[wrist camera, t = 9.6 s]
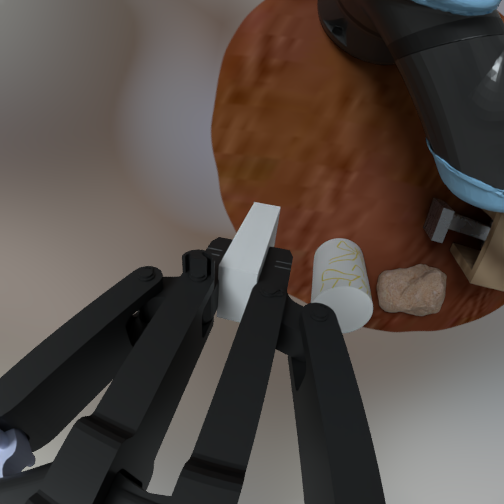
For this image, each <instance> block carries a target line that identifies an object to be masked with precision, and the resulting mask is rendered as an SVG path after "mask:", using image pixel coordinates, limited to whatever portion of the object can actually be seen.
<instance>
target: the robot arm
mask: <svg viewBox="0 0 504 504" xmlns="http://www.w3.org/2000/svg"><path fill="white" fill-rule="evenodd" d="M500 2H501V0H318V15H319V19H320V22H321V24H322V26H323V28H324V30H325V32H326V33H327V34H328V36H329V37H330V38H331V39H332V41H333V42H334V43H335V44H337V45H338V46H339V47H340V48H341V49H343V50H344V51H345V52H347V53H348V54H350V55H352V56H354V57H356V58H358V59H360V60H363V61H366V62H369V63H373V64H379V65H393V64H396V65H397V67H398V69H399V71H400V73H401V75H402V78H403V80H404V82H405V84H406V86H407V88H408V91H409V93H410V95H411V98H412V100H413V102H414V105H415V107H416V110H417V112H418V115H419V118H420V120H421V123H422V126H423V128H424V131H425V134H426V142H427V146H428V148H429V150H430V152H431V153H432V155H433V156H434V159H435V162H436V165H437V168H438V171H439V174H440V177H441V179H442V181H443V182H444V184H446V185H447V187H448V188H449V190H450V191H451V192H452V193H453V194H454V195H456V196H457V197H458V198H460V199H461V200H463V201H465V202H467V203H469V204H471V205H473V206H476V207H479V208H482V209H485V210H489V211H494V212H501V213H504V23H503V21H502V19H501V17H500V15H499V13H498V11H497V10H496V9H497V7H498V6H499V3H500ZM279 213H280V207H278V206H273V205H267V204H262V203H256V202H254V204H253V206H252V208H251V209H250V211H249V213H248V214H247V216H246V218H245V220H244V222H243V223H242V225H241V227H240V229H239V230H238V232H237V234H236V236H235V237H234V239H233V240H231V239H226V238H221V237H218V238H217V239H215V240H213V241H212V242H211V243H210V245H209V246H208V248H207V249H206V251H204V250H191V251H188V252H186V253H185V254H183V255H182V265H183V273H182V275H181V276H179V277H163V275H162V273H161V270H159V269H158V268H156V267H152V266H145V267H141V268H138V269H137V270H135V271H133V272H132V273H130V274H129V275H128V276H126V277H125V278H124V279H122V280H121V281H120V282H118V283H117V284H116V285H114V286H113V287H111V288H110V289H109V290H107V291H106V292H105V293H103V294H102V295H101V296H99V297H98V298H97V299H96V300H94V301H93V302H92V303H90V304H89V305H88V306H86V307H85V308H84V309H83V310H81V311H80V312H79V313H78V314H76V315H75V316H74V317H73V318H71V319H70V320H69V321H68V322H66V323H65V324H64V325H62V326H61V327H60V328H59V329H57V330H56V331H55V332H54V333H52V334H51V335H50V336H49V337H47V339H45V340H44V341H43V342H41V343H40V344H39V345H38V346H37V347H35V348H34V349H33V350H32V351H31V352H30V353H28V354H27V355H26V356H25V357H24V358H23V359H21V360H20V361H19V362H18V363H17V364H16V365H15V366H13V367H12V368H11V369H10V370H9V371H8V372H7V373H6V374H4V375H3V376H2V377H1V378H0V504H237V503H238V499H239V496H240V493H241V489H242V485H243V482H244V477H245V472H246V468H247V465H248V461H249V457H250V453H251V450H252V446H253V442H254V438H255V434H256V430H257V426H258V422H259V418H260V414H261V410H262V406H263V402H264V398H265V393H266V389H267V385H268V380H269V376H270V372H271V367H272V362H273V358H274V353H275V349H277V350H279V351H281V352H283V353H285V354H287V355H288V362H289V371H290V378H291V386H292V393H293V402H294V410H295V419H296V427H297V435H298V444H299V454H300V462H301V472H302V482H303V492H304V502H305V504H386V503H385V498H384V493H383V488H382V483H381V478H380V473H379V468H378V464H377V460H376V455H375V451H374V446H373V442H372V438H371V434H370V430H369V426H368V422H367V418H366V414H365V410H364V407H363V403H362V399H361V396H360V392H359V388H358V385H357V381H356V378H355V374H354V371H353V368H352V364H351V361H350V357H349V354H348V351H347V347H346V344H345V341H344V338H343V335H342V332H341V328H340V325H339V322H338V319H337V316H336V314H335V312H334V311H333V310H332V309H331V308H330V307H329V306H327V305H325V304H322V303H316V302H315V303H309V304H307V305H305V306H304V307H303V306H301V305H299V304H297V303H295V302H294V301H293V300H292V299H291V298H290V297H289V296H288V293H287V287H288V281H289V276H290V270H291V265H292V259H293V256H292V254H291V252H290V250H285V249H280V248H275V247H274V244H275V238H276V232H277V226H278V219H279ZM216 310H217V317H220V318H224V319H228V320H232V321H237V322H240V325H239V327H238V330H237V333H236V336H235V339H234V341H233V344H232V347H231V350H230V353H229V355H228V358H227V361H226V363H225V366H224V369H223V372H222V375H221V378H220V380H219V383H218V386H217V388H216V391H215V394H214V396H213V399H212V402H211V405H210V407H209V410H208V413H207V415H206V418H205V421H204V423H203V426H202V429H201V432H200V434H199V437H198V440H197V442H196V445H195V448H194V450H193V453H192V455H191V457H190V459H189V460H188V461H187V462H186V463H185V465H184V467H183V469H182V471H181V473H180V476H179V478H178V481H177V484H176V486H175V488H174V491H173V493H172V496H165V495H158V494H152V493H148V492H147V491H146V489H147V487H148V485H149V482H150V480H151V477H152V474H153V469H154V460H155V458H156V455H157V453H158V450H159V448H160V446H161V443H162V441H163V439H164V437H165V434H166V432H167V430H168V427H169V425H170V422H171V420H172V418H173V416H174V413H175V411H176V409H177V407H178V404H179V402H180V400H181V397H182V395H183V393H184V391H185V388H186V386H187V384H188V381H189V379H190V377H191V374H192V372H193V370H194V368H195V365H196V363H197V360H198V358H199V356H200V354H201V352H202V349H203V347H204V345H205V342H206V340H207V338H208V336H209V333H210V331H211V329H212V327H213V322H214V314H215V312H216ZM136 311H138V312H137V313H135V312H136ZM134 313H135V314H134ZM133 314H134V315H133ZM112 379H113V381H112ZM111 381H112V382H111ZM110 382H111V384H110V386H109V387H108V389H107V391H106V392H105V394H104V396H103V397H102V400H101V401H100V403H99V404H98V406H97V408H96V409H95V411H94V412H93V414H92V415H90V416H85V417H81V418H80V419H79V420H77V422H76V423H75V424H74V425H73V427H72V429H71V431H70V432H69V434H68V436H67V438H66V439H65V441H64V443H63V445H62V446H61V448H60V450H59V452H58V454H57V456H56V457H55V459H54V461H53V462H51V463H48V464H45V465H42V466H39V467H36V468H33V469H30V470H27V471H23V472H21V471H22V470H23V469H24V468H25V467H26V466H29V467H31V466H33V465H34V464H35V456H34V455H33V453H32V452H34V451H36V450H38V449H40V448H42V447H43V446H45V445H46V444H47V443H49V442H50V441H51V440H52V439H54V438H55V437H56V436H57V435H58V434H59V433H60V432H61V431H62V430H63V429H64V428H65V427H66V426H67V425H68V424H69V423H70V422H71V421H72V420H73V419H74V418H75V417H76V416H77V415H78V414H79V413H80V412H81V411H82V410H83V409H84V408H85V407H86V406H87V405H88V404H89V403H90V402H91V401H92V400H93V399H94V398H95V397H96V396H97V395H98V394H99V393H100V392H101V391H102V390H103V389H104V388H105V387H106V386H107V385H108V384H109V383H110Z"/></svg>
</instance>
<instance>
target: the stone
mask: <svg viewBox="0 0 504 504" xmlns="http://www.w3.org/2000/svg"><path fill="white" fill-rule="evenodd" d="M446 278H447V276H446V274H445V273H443V272H441V271H440V270H439V269H437V268H434V267H429V266H427V265H426V264H425V265H422V264H418V265H416V266H413V267H409V268H407V269H406V268H404V269H401V268H398V269H395V270H387V271H384V272H382V273H381V274H380V275H379V278H378V284H377V292H378V293H377V294H378V299H379V306H380V307H381V308H382V309H383V310H384V311H386V312H390V313H391V312H394V313H396V312H405V313H408V314H413V315H415V316H425V315H428V314H432V313H437V312H439V310H440V309H441V306H442V303H443V301H444V297H445V289H446Z"/></svg>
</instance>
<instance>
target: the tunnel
mask: <svg viewBox="0 0 504 504" xmlns="http://www.w3.org/2000/svg"><path fill="white" fill-rule="evenodd" d="M481 209H482V208H481ZM482 210H483V211H484V212H486V213H487V214H488V215H489V216H490V217H491V218H492V219H493V220H494V221H493V224H492V226H491V228H490V231H489V233H488V236H487V238H486V240H485V243H484V245H483V247H482V249H481V251H479V250H476V249H473V248H469V247H466V246H463V245H459V244H456V243H452V246H451V248H450V252H451V253H452V255H453V256H454V258H455V260H456V261H457V263H458V264H459V266H460V267H461V269H462V271H463V272H464V274H465V276H466V277H467V279H468V281H469V282H470V283H471V284H475V285H479V286H483V287H488V288H492V289H496V290H500V291H504V213H501V212H494V211H489V210H485V209H482Z"/></svg>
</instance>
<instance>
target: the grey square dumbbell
mask: <svg viewBox="0 0 504 504" xmlns="http://www.w3.org/2000/svg"><path fill="white" fill-rule="evenodd" d="M454 212H455V211H454V210H453V209H452V208H451V207H450V206H449V205H448V204H447V203H446V202H445V201H443V200H440V199H437V198H434V197H433V201H432V204H431V206H430V209H429V212H428V215H427V218H426V221H425V223H424V226H423V228H424V230H425V231H426V233H427V234H428V236H429V237H430V239H431V240H432V241H436V242H439V243H443V240H444V238H445V235H446V233H447V231H448V229H450V230H454V231H457V232H460V233H463V234H466V235H469V236H472V237H475V238H478V239H481V240H483V241H482V243H481V245H480V247H481V248H482V247H483V245H484V243H485V240H486V238H487V236H488V233H489V231H490V228H491V226H492V224H493V221H494V220H493V219H491V221H490V224H489V225H487V224H484V223H482V222H479V221H476V220H474V219H471V218H468V217H465V216H463V215H460V214H457V213H454Z"/></svg>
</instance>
